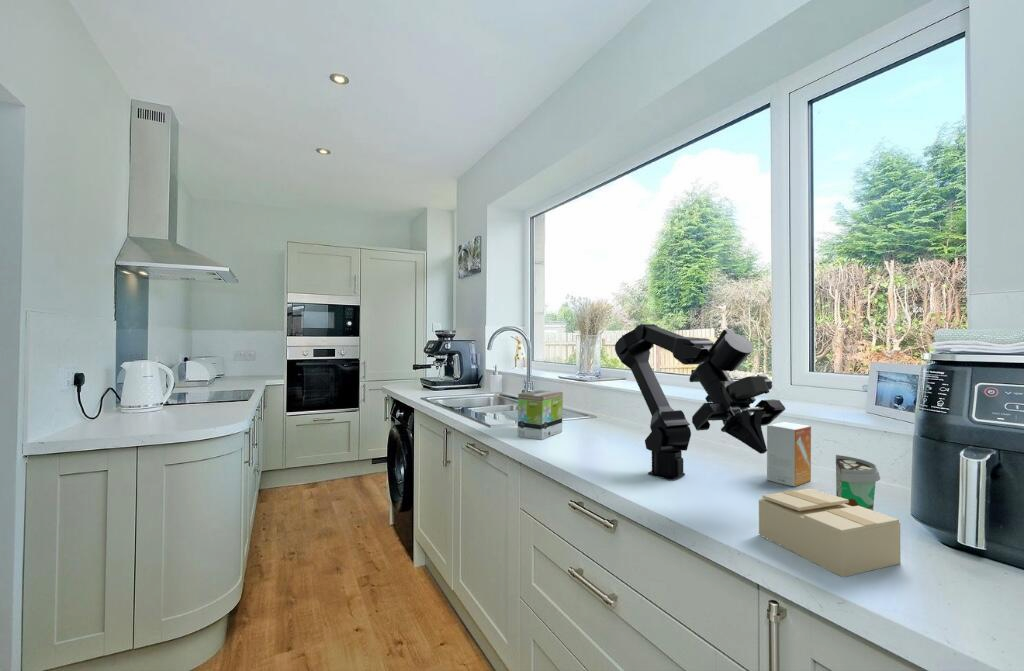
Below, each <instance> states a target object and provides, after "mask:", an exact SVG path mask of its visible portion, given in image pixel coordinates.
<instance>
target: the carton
mask: <svg viewBox="0 0 1024 671" xmlns="http://www.w3.org/2000/svg"><path fill="white" fill-rule="evenodd" d="M759 534H760V535H761V536H760V535H759ZM758 535H759V536H760V537H762V536H764V537H765V538H764V537H763V538H764V539H766V538H768V539H769V540H768V539H767V540H768V541H770V540H771V541H770V542H772V541H773V542H772V543H774V542H775V543H774V544H776V543H777V544H776V545H778V544H780V545H781V546H780V545H779V546H780V547H782V546H783V547H782V548H784V547H785V549H786V548H787V549H786V550H788V549H789V550H788V551H790V550H791V551H790V552H792V551H793V552H792V553H794V552H795V553H794V554H796V553H797V554H796V555H798V556H800V557H802V558H804V559H806V560H808V561H809V562H812V563H814V564H816V565H817V564H818V566H819V567H821V568H824V569H826V570H828V571H829V572H831V573H833V574H835V575H837V576H839V577H841V578H845V577H849V576H853V575H857V574H860V573H866V572H870V571H875V570H879V569H883V568H887V567H891V566H895V565H900V564H901V558H902V557H901V556H902V555H901V554H902V553H901V550H902V549H901V522H900V519H898V518H896V517H893V516H890V515H887V514H884V513H882V512H878V511H875V510H874V509H873V510H870V509H867V508H864V507H861V506H850V505H847V504H839V505H833V506H827V507H821V508H814V509H808V510H802V511H798V510H795V509H792V508H789V507H786V506H784V505H781V504H778V503H775V502H772V501H769V500H766V499H763V498H762V499H758Z"/></svg>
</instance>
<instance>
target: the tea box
mask: <svg viewBox="0 0 1024 671" xmlns="http://www.w3.org/2000/svg"><path fill="white" fill-rule="evenodd" d="M563 395H564V394H563V392H562V391H556V390H555V391H554V390H543V389H542V390H540V389H539V390H535V391H532V390H531V391H527V392H522V393H518V395H517V396H518V397H517V398H518V399H517V400H518V402H517V437H520V438H527V439H533V440H539V441H540V440H541V441H542V440H543V439H546V438H549V437H552V436H554V435H558V434H561V433H562V432H563V401H564V400H563V399H564V397H563Z"/></svg>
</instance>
